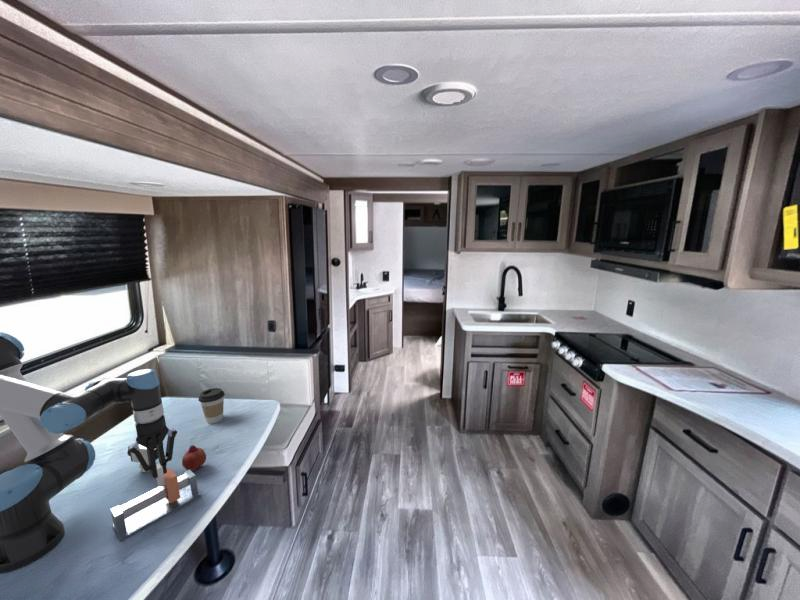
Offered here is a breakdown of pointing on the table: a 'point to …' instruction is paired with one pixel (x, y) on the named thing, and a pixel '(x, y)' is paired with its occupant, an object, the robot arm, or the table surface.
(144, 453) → the pneumatic valve
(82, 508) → the table surface
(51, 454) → the robot arm
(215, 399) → the coffee cup
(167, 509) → the grey rail frame
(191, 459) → the fruit
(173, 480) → the terracotta rectangular block
